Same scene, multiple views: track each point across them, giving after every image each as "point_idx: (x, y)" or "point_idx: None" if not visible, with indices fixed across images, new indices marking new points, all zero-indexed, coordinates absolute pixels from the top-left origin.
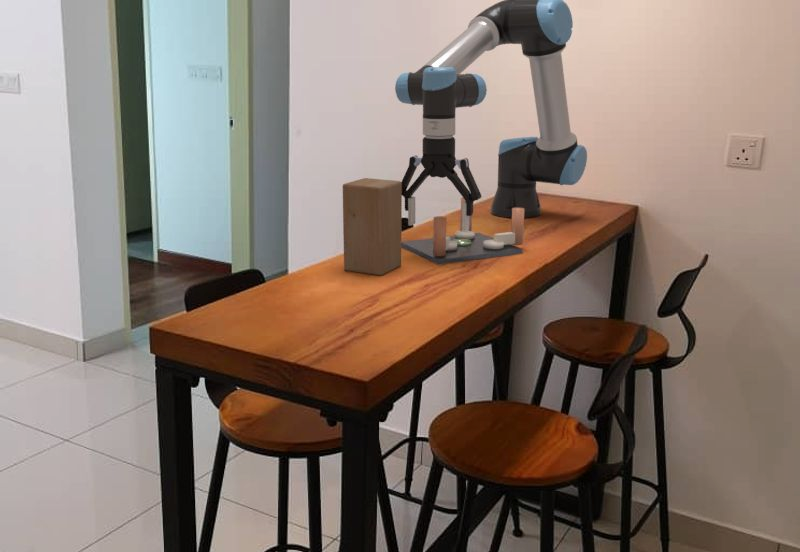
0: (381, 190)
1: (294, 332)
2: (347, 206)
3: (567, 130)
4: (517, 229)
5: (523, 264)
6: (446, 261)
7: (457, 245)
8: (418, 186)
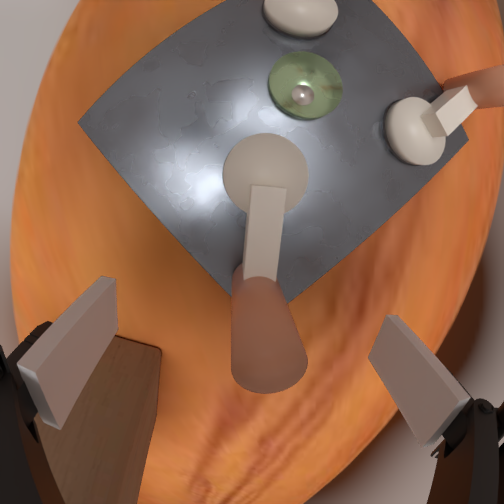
0: None
1: None
2: None
3: None
4: (490, 106)
5: (459, 249)
6: None
7: (295, 116)
8: (46, 488)
